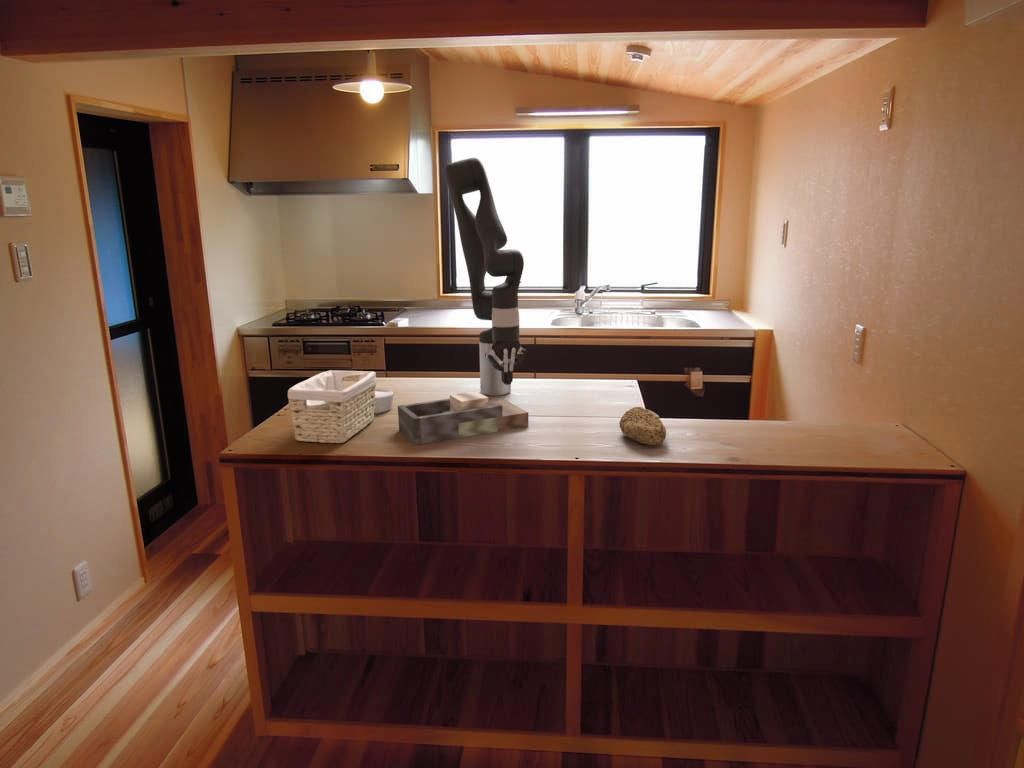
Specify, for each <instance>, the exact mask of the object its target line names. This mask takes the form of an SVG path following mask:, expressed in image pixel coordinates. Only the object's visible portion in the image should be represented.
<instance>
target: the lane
mask: <svg viewBox="0 0 1024 768" xmlns="http://www.w3.org/2000/svg"><path fill="white" fill-rule="evenodd" d="M397 415H398V430H399V431H400V432H401V431H402V432H403V433H404V434H405V435H406V436H407V437H408V438H409V439H408V438H407V437H406V436H405V435H404V434H403V433H402V432H401V433H402V434H403V435H404V436H405V437H406V438H407V439H408V440H409V441H411V442H412V443H413V445H415V446H419V445H423V444H431V443H436V442H442V441H443V442H444V441H448V440H453V439H454V440H455V439H460V438H466V437H471V436H478V435H479V436H480V435H484V434H490V433H495V432H496V433H497V432H501V430H502V431H508V430H513V429H512V428H514V429H519V428H518V427H520V428H525V426H526V427H529V412H528V411H527V410H525V409H523V408H522V407H519V406H517V405H515V404H513V402H510V401H509V400H500V401H492V402H488V406H487V407H481V408H474V409H467V410H461V411H454V412H450V398H444V399H436V400H429V401H424V402H423V401H422V402H416V403H408V404H402V405H397ZM507 429H508V430H507Z"/></svg>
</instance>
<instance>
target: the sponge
mask: <svg viewBox="0 0 1024 768" xmlns="http://www.w3.org/2000/svg"><path fill="white" fill-rule="evenodd" d="M618 423H619V428H620V431H621V432H622V434H624V435H625V436H626V437H627V438H629V439H631V440H633V441H635V442H638V443H641V444H642V445H648V446H657V445H661V444H662V443H664V441H665V440H666V438H667V429H666V427H665V425H664V423H663V422H662V420H661V419H660V416H659V415H658V414H657V413H655V412H654V411H652V410H650V409H646V408H644V407H642V406H634V407H632V408H630V409H628V410H626V411H625V412H624V413H623V415H622V416H621V418H620V421H619V422H618Z"/></svg>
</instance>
